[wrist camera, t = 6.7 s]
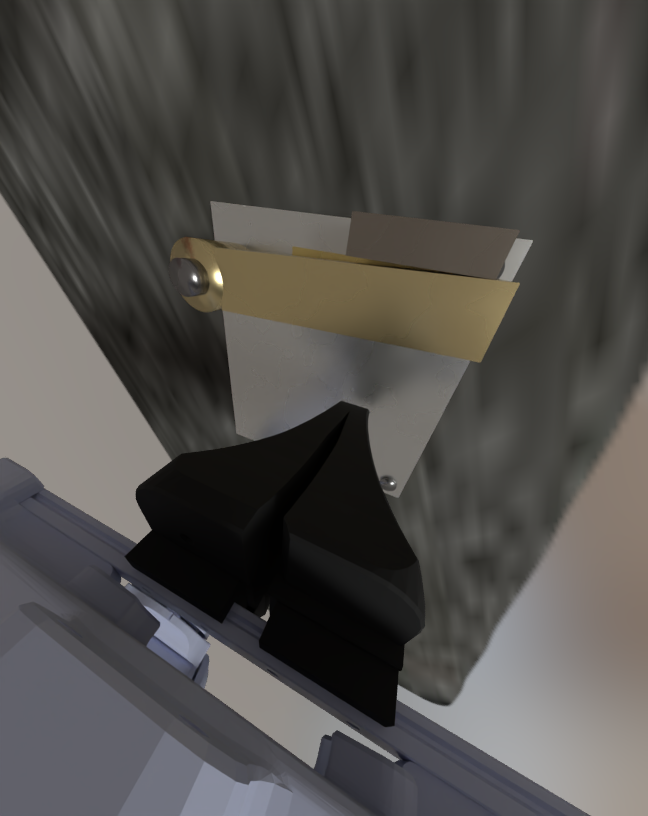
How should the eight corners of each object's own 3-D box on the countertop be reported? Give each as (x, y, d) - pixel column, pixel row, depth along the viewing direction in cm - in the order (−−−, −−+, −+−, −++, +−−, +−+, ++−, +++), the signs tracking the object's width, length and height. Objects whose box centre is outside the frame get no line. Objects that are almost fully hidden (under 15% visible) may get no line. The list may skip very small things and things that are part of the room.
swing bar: (221, 300, 11) (166, 309, 9) (212, 240, 10) (145, 232, 8) (466, 346, 9) (481, 377, 6) (499, 271, 7) (534, 274, 5)
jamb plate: (399, 490, 15) (398, 500, 14) (241, 428, 17) (235, 434, 17) (526, 242, 7) (535, 239, 7) (220, 204, 10) (207, 200, 10)
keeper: (443, 354, 9) (447, 378, 7) (290, 317, 11) (259, 329, 9) (494, 240, 7) (520, 229, 5) (295, 214, 9) (256, 199, 7)
